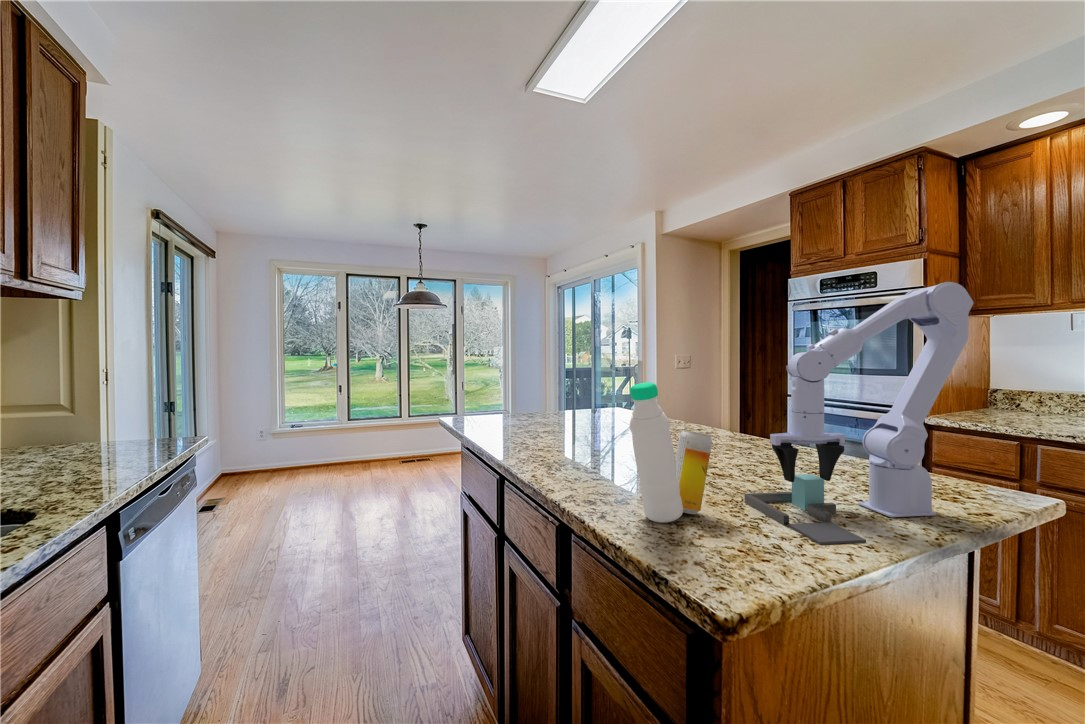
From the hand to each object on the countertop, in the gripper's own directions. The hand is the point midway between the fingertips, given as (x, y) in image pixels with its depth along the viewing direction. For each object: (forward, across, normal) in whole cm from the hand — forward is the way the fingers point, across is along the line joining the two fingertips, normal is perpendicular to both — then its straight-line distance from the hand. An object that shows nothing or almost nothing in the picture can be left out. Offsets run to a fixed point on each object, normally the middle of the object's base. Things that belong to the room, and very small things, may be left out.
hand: (807, 480), depth 92 cm
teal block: (+5, 0, 0) cm, 5 cm away
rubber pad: (+5, +6, +14) cm, 16 cm away
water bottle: (+5, +31, +3) cm, 31 cm away
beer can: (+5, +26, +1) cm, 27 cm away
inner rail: (+6, 0, +6) cm, 8 cm away
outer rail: (+6, +4, +2) cm, 7 cm away
